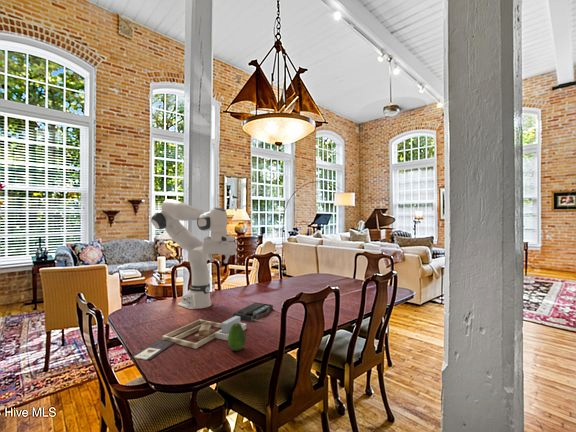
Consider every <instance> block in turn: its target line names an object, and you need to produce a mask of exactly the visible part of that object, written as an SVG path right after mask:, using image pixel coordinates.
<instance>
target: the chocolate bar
mask: <svg viewBox="0 0 576 432" xmlns="http://www.w3.org/2000/svg"><path fill="white" fill-rule="evenodd" d="M174 344H175V342H172V341H168V340H162V339H158V340H156V341H154V342H152V343H151V344H149V345H148V346H146V347H144V348H143V349H142V350H140V351H138V352H136V353H135V354H133V355H132V356H131V359H137V360H145V361H151V360H153V359H154V358H155V357H158V355H160V354H161V353H162V352H164V351H166V350H168V349H169V348H171V346H173V345H174Z"/></svg>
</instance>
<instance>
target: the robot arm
mask: <svg viewBox="0 0 576 432" xmlns="http://www.w3.org/2000/svg"><path fill="white" fill-rule="evenodd" d="M210 209H211V210H209V211H206V210H202V209H199V208H197V207H195V206H191V205H190V204H187V203H185V202H183V201H180V200H177V199H170V198H169V199H165V200H163V202H162V204H161V208H160V210H159V211H157V212H156V213H154V214H153V215H152V216H151V217H150V218H151V219H150V221H151V224H152V225H153V226H154V228H155V229H157V230H165V232H166V233H167V235H168V236H169V238H171V240H173V241H174V242H175V243H176V245H178V246H179V247H180V248H181V249H182V250H184V251H187V252H188V253H187V261H189V265H190V271H191V284H189V285H188V288H189V289H188V290H187V291H186V292H185V293H183V294H182V296H181V301H179V302H178V303H177V306H179V307H181V308H186V309H189V310H195V309H204V308H205V309H206V308H208V307H211V306H212V301H211V294H210V290H211V284H210V271H209V266H208V260H209V262H210V263H213V262H215V258H213V255H221V256H225V259H223V263H224V264H228V262H229V260H230V256H235V254H236V252H237V251H236V249H237V248H236V242H235V240H236V237H235V236H232V235H231V234H230V233H229V234H228V229H227V226H228V214H227V213H228V212H227V211H226V209H225V208H222V207H213V208H210ZM181 221H196V226H197V227H198V229H199V230H200V231H203V232H206V231H207V232H209V231H210V236H206V237H204V238H203V241H201V240H200V239H199V238H197V237H196V236H195V235H194V234H193V233H192V232H191V231H190V230H189V229H188V228H187V227H185V225H183V224H182V223H181Z"/></svg>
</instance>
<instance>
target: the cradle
mask: <svg viewBox="0 0 576 432" xmlns="http://www.w3.org/2000/svg"><path fill="white" fill-rule="evenodd" d="M240 325H241V327H242V329H243V331H245V330H247V327H248V326H247V323H243V322H240ZM215 332H216V333H215V338H214V339H218V340H219V339H220V340H224V341H228V336H229V333H228V334H223V333H221V329H219V330H218V332H217V331H215Z"/></svg>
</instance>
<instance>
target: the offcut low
mask: <svg viewBox="0 0 576 432" xmlns="http://www.w3.org/2000/svg"><path fill="white" fill-rule="evenodd" d="M215 332H216V329H212V328H211V331H210V333H209V335H199V332H198V333H196V334H194V336H193V337H194V338H193V340H195V341H198V342H199V341H200V340H202V339H204V338H206V337H208V336H210V335H212V334H213V333H215Z"/></svg>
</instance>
